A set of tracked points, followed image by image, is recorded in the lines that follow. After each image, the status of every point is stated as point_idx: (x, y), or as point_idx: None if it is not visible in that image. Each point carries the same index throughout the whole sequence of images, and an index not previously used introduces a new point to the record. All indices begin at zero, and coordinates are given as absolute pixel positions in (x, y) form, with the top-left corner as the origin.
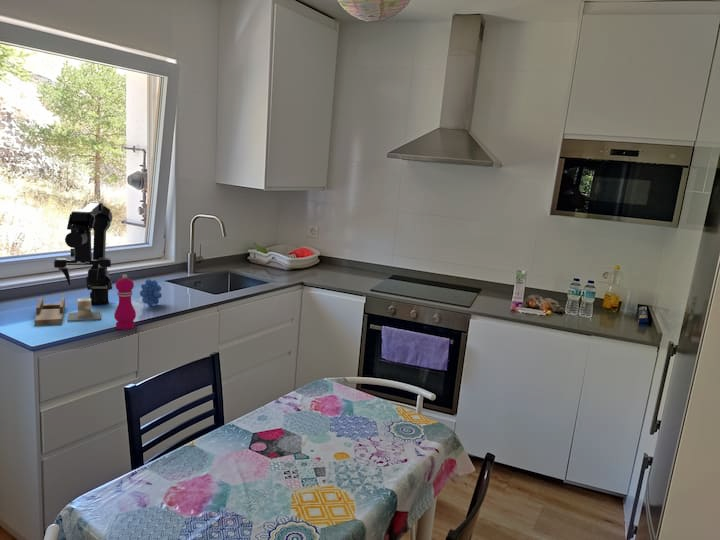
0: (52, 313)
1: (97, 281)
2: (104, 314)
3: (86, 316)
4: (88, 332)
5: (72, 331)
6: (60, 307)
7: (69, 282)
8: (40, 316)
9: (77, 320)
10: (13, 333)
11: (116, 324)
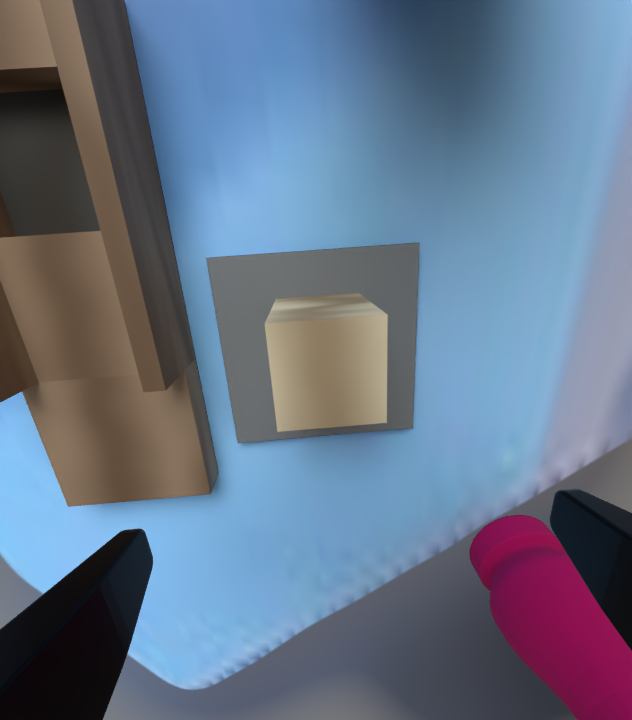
0: (117, 373)
1: (608, 597)
2: (437, 299)
3: None
4: (354, 593)
5: (288, 576)
6: (152, 389)
7: (118, 642)
8: (68, 435)
9: (289, 435)
10: (46, 578)
11: (479, 576)
